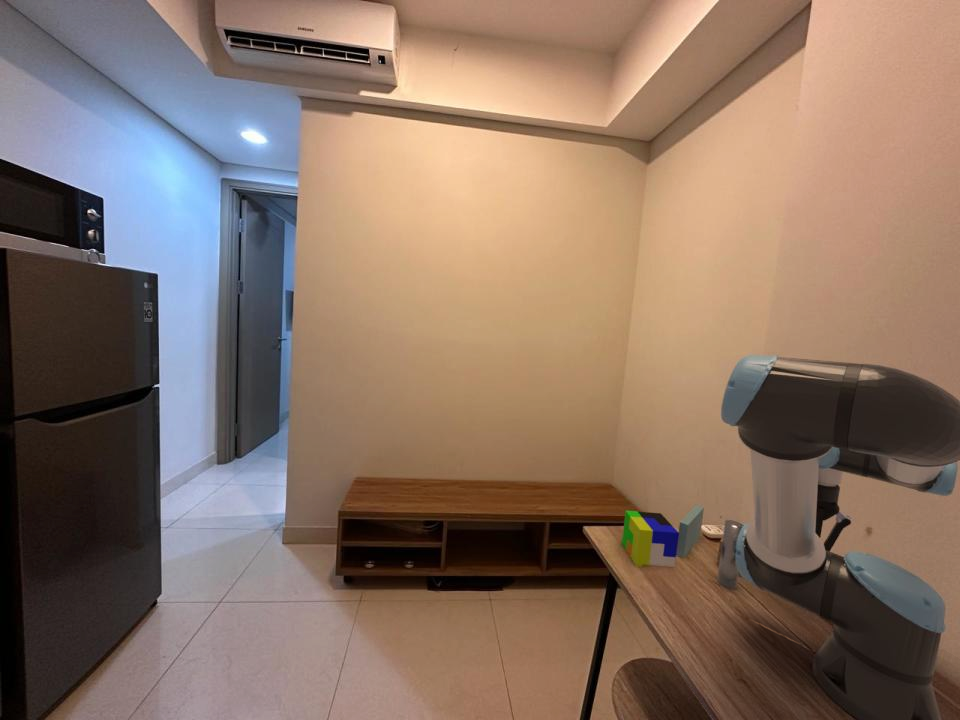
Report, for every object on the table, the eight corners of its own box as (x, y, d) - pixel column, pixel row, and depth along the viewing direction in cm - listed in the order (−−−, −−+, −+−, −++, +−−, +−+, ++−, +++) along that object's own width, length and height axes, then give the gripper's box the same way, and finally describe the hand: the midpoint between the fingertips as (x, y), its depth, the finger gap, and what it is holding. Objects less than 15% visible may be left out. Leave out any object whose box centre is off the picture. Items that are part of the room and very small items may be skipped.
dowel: (734, 594, 88) (743, 530, 86) (715, 585, 90) (723, 523, 89) (737, 587, 90) (746, 525, 89) (718, 578, 93) (727, 518, 92)
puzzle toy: (674, 569, 96) (678, 532, 95) (635, 566, 96) (640, 529, 95) (656, 546, 106) (660, 513, 105) (621, 543, 106) (625, 510, 105)
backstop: (762, 596, 88) (768, 556, 87) (675, 556, 101) (679, 522, 100) (771, 568, 99) (777, 532, 98) (692, 536, 113) (696, 504, 112)
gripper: (857, 485, 85) (840, 580, 87) (784, 467, 94) (771, 554, 96) (858, 494, 79) (840, 596, 82) (780, 474, 88) (767, 566, 91)
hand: (803, 573), depth 89 cm, fingers closed
